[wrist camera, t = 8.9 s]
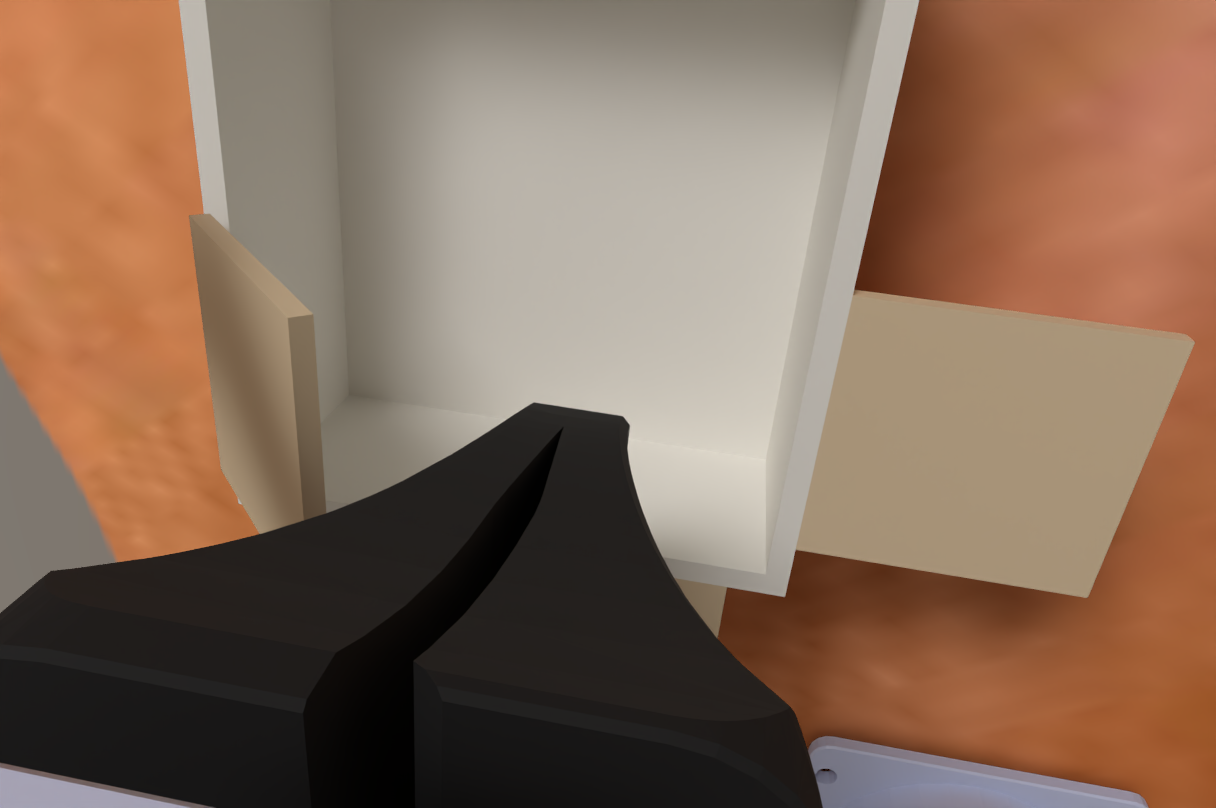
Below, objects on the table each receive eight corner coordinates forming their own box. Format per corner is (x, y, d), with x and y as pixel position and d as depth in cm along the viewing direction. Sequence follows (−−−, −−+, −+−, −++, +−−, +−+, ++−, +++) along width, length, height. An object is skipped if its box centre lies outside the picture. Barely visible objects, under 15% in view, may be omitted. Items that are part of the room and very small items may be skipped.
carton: (949, 668, 21) (991, 826, 17) (347, 562, 22) (259, 685, 18) (1240, -168, 13) (1432, -223, 9) (303, -241, 15) (141, -315, 11)
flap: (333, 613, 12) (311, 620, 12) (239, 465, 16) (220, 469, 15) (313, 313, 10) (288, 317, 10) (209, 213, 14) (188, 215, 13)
